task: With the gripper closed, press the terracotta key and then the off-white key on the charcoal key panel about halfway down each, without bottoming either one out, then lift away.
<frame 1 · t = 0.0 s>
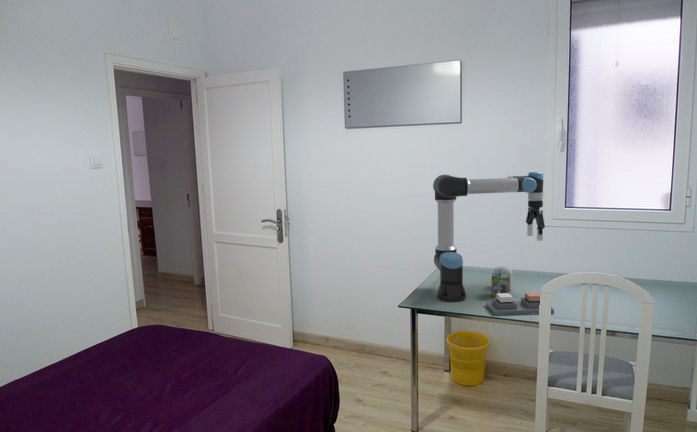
hand: (534, 238, 257), 28 cm above the table, tool pointing down, fingers open, 13 cm apart
terracotta key: (533, 296, 225), point 6 cm above the table, slide at 0.0 cm
key panel: (518, 309, 226), on the table
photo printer: (503, 288, 261), on the table
chalk box: (500, 296, 247), on the table
white key: (504, 297, 225), point 6 cm above the table, slide at 0.0 cm
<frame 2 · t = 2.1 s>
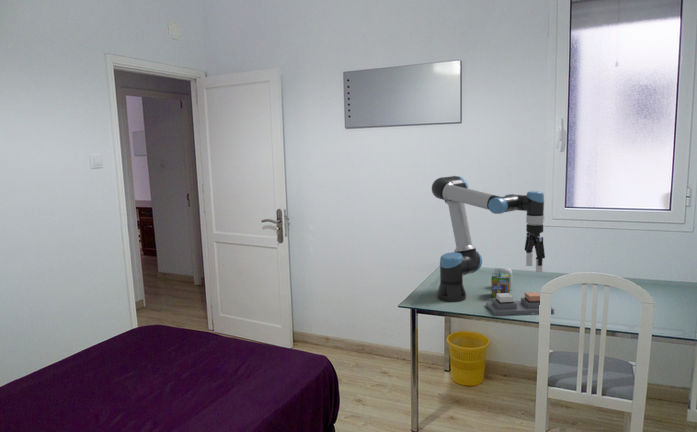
hand: (534, 268, 223), 20 cm above the table, tool pointing down, fingers open, 11 cm apart
nothing on the table moved.
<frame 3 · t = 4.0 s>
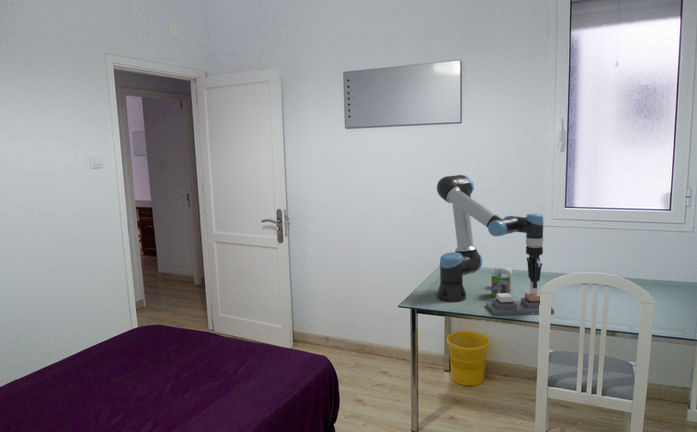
hand: (533, 293, 225), 8 cm above the table, tool pointing down, fingers closed
terracotta key: (533, 296, 225), point 6 cm above the table, slide at 0.0 cm, touching gripper
everything else where it was.
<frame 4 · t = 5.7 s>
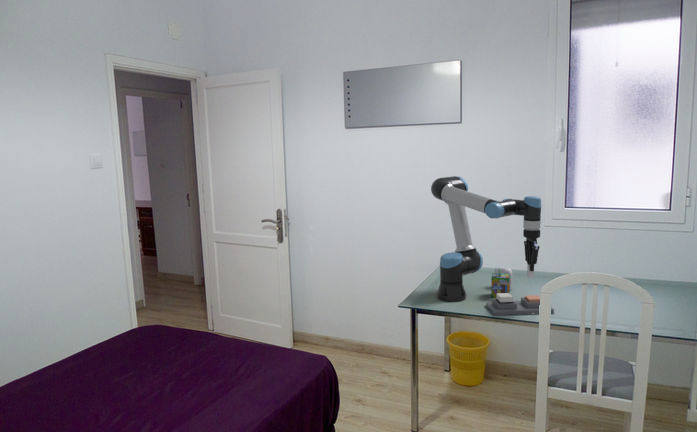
hand: (530, 276, 224), 16 cm above the table, tool pointing down, fingers closed
terracotta key: (533, 299, 225), point 5 cm above the table, slide at 1.6 cm
everything else where it was.
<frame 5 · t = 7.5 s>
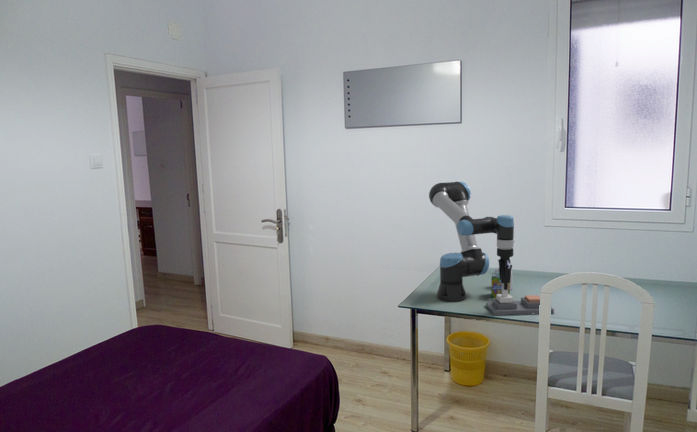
hand: (504, 295, 225), 7 cm above the table, tool pointing down, fingers closed
white key: (504, 298, 225), point 6 cm above the table, slide at 0.4 cm, touching gripper
everything else where it was.
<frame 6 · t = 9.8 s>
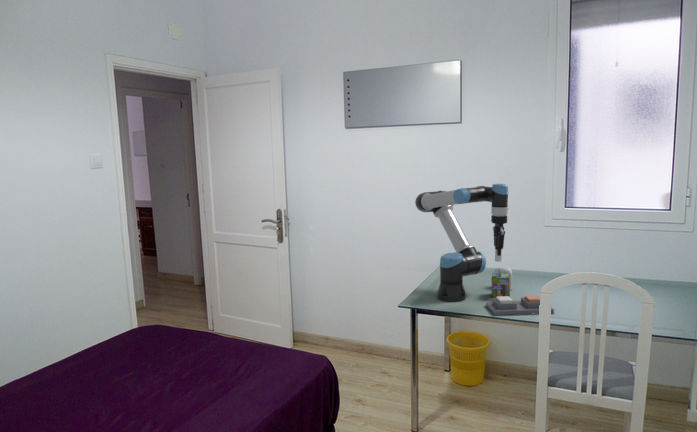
hand: (498, 261, 233), 22 cm above the table, tool pointing down, fingers closed
white key: (504, 300, 225), point 5 cm above the table, slide at 1.6 cm
everything else where it was.
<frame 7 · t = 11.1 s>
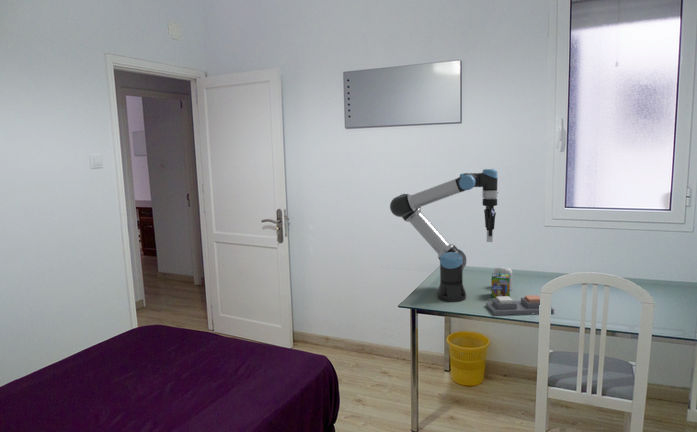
hand: (489, 241, 250), 28 cm above the table, tool pointing down, fingers closed
nothing on the table moved.
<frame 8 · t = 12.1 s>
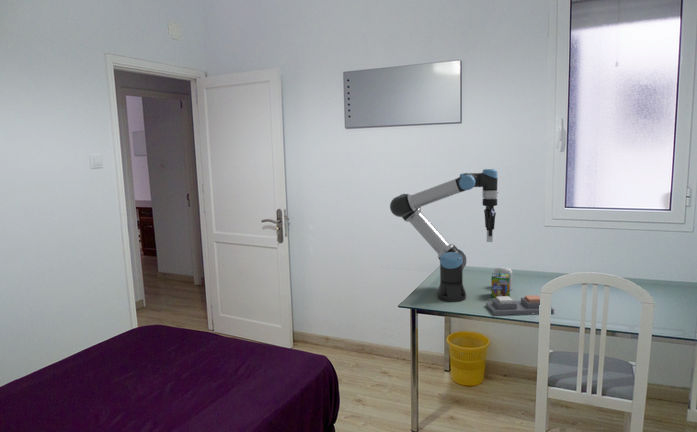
hand: (489, 241, 250), 28 cm above the table, tool pointing down, fingers closed
nothing on the table moved.
at the end: terracotta key slide at 1.6 cm; white key slide at 1.6 cm; chalk box moved 0.3 cm from its start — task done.
